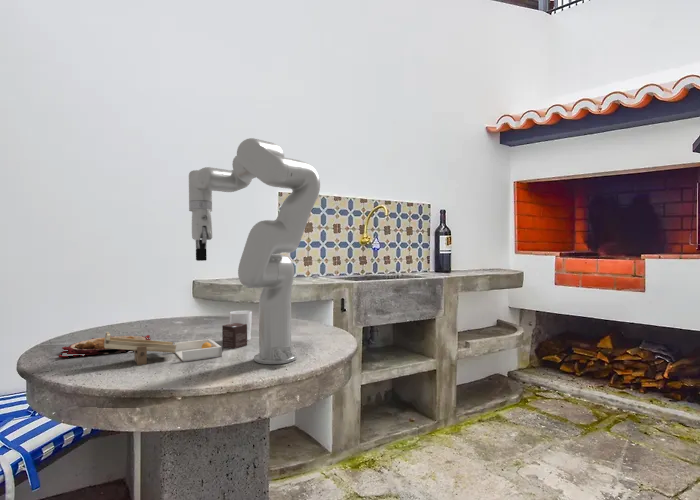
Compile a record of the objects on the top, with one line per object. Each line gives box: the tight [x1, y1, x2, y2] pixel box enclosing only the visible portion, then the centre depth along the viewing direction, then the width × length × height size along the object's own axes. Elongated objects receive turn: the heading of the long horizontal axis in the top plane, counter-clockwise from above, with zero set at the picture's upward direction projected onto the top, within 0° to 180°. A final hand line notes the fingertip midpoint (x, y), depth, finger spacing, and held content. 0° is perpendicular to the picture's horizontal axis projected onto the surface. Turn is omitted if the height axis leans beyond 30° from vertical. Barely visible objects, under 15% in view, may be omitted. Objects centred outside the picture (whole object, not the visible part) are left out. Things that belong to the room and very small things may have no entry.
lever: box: [104, 331, 176, 354], centre depth 139 cm, size 13×19×4 cm, turn 121°
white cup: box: [229, 310, 253, 341], centre depth 166 cm, size 8×8×10 cm
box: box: [221, 323, 248, 350], centre depth 156 cm, size 6×6×7 cm
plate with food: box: [58, 334, 152, 358], centre depth 156 cm, size 25×26×4 cm
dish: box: [173, 338, 223, 363], centre depth 144 cm, size 14×12×3 cm
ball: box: [202, 342, 211, 349], centre depth 146 cm, size 3×3×3 cm
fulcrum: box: [133, 346, 148, 366], centre depth 136 cm, size 8×2×5 cm, turn 31°
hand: (201, 260), depth 157 cm, fingers closed
